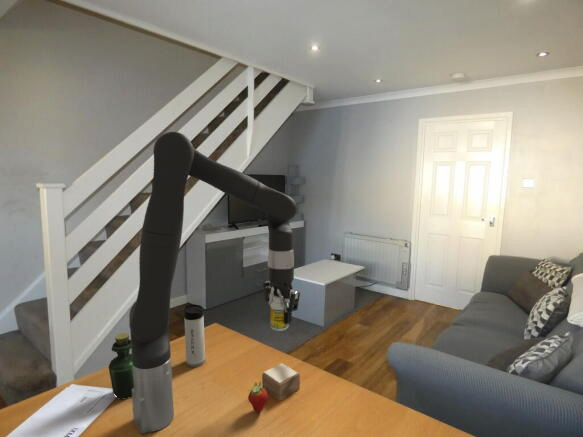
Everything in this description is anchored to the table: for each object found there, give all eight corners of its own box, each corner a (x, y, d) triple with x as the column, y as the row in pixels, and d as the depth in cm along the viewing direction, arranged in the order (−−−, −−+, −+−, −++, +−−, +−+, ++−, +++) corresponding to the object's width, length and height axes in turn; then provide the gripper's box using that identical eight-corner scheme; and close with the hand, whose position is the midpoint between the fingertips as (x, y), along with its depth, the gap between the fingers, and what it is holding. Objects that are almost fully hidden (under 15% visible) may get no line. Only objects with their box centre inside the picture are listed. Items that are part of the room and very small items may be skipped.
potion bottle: (142, 396, 100) (138, 338, 98) (110, 405, 97) (106, 345, 94) (139, 381, 108) (136, 327, 105) (110, 389, 104) (106, 333, 101)
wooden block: (279, 401, 99) (279, 384, 98) (262, 388, 104) (262, 372, 104) (299, 389, 104) (299, 372, 103) (282, 377, 110) (282, 362, 109)
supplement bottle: (286, 322, 104) (287, 292, 103) (290, 330, 99) (290, 298, 98) (268, 323, 103) (269, 293, 101) (271, 332, 98) (272, 299, 96)
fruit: (255, 402, 98) (254, 376, 97) (271, 408, 96) (271, 381, 95) (245, 414, 93) (244, 387, 92) (262, 420, 91) (261, 392, 90)
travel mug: (196, 355, 123) (194, 301, 120) (208, 361, 119) (207, 306, 116) (181, 362, 118) (179, 307, 115) (194, 369, 114) (191, 312, 111)
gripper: (255, 261, 101) (255, 316, 103) (288, 272, 91) (287, 332, 93) (274, 257, 106) (274, 309, 109) (307, 267, 96) (306, 324, 98)
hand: (280, 319), depth 101 cm, fingers closed on supplement bottle, 5 cm apart
